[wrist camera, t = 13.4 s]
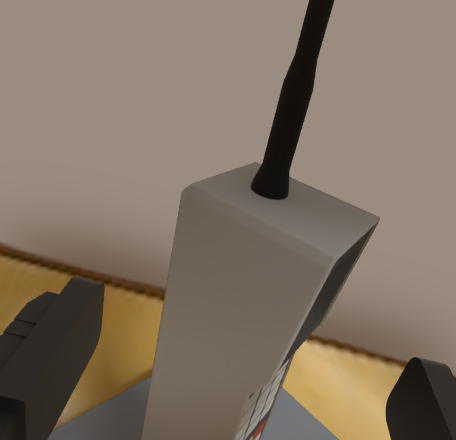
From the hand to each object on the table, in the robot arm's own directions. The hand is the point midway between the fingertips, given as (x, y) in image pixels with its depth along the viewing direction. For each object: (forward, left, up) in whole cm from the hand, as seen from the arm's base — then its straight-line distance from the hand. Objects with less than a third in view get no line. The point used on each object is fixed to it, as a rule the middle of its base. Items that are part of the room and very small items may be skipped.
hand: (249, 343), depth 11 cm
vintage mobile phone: (-3, -2, -14) cm, 15 cm away
